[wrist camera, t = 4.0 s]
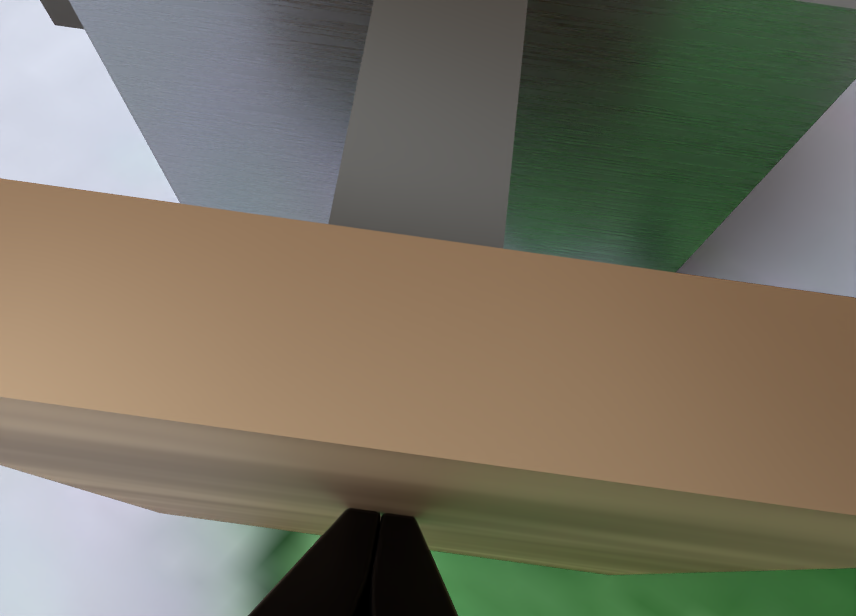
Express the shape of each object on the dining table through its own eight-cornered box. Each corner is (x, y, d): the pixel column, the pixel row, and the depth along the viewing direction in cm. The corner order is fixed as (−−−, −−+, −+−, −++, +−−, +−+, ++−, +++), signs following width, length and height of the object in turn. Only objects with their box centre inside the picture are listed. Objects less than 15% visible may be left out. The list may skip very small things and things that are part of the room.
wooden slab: (609, 574, 16) (1169, 559, 4) (45, 497, 16) (-831, 280, 4) (620, 221, 19) (960, -305, 8) (153, 156, 19) (-190, -468, 8)
